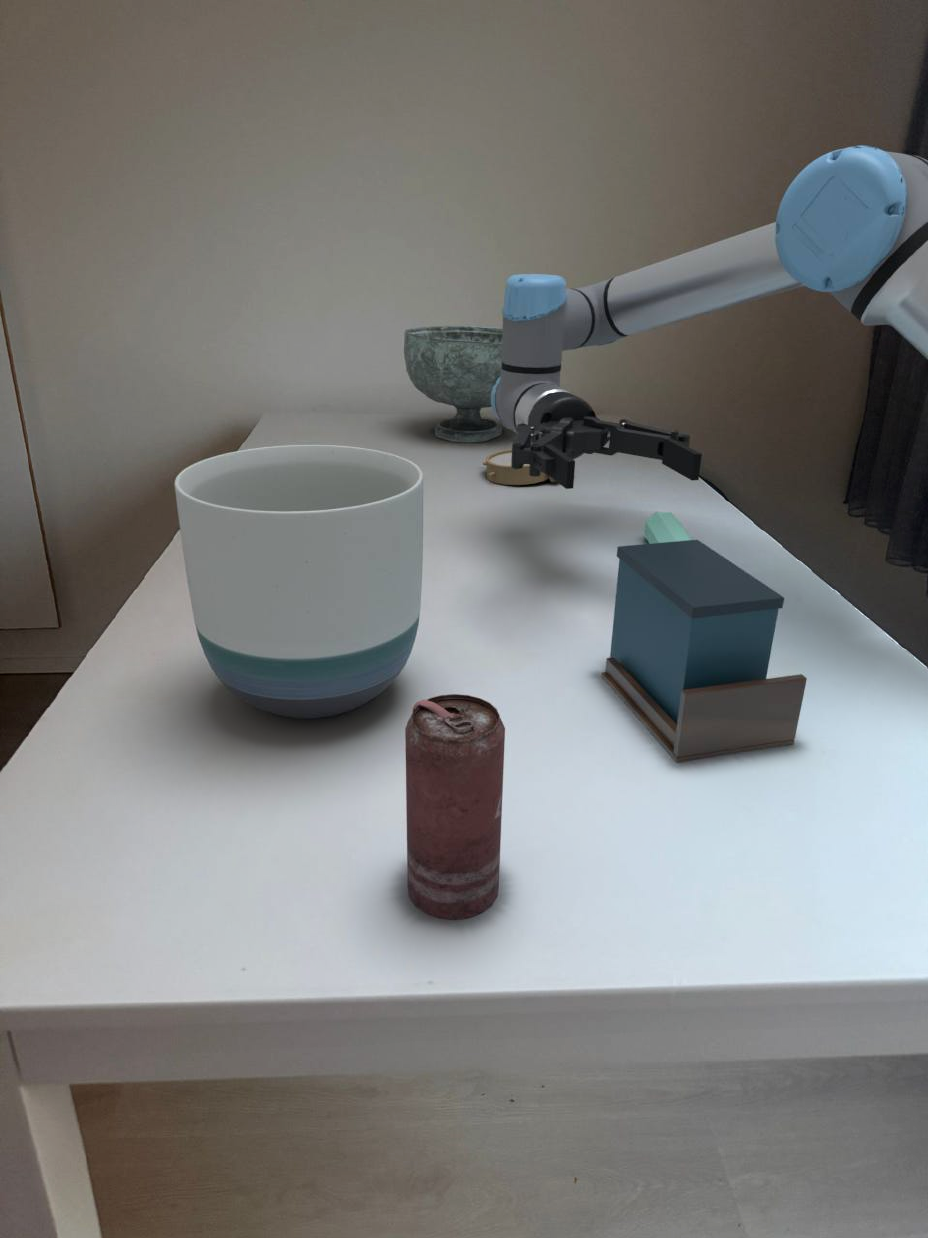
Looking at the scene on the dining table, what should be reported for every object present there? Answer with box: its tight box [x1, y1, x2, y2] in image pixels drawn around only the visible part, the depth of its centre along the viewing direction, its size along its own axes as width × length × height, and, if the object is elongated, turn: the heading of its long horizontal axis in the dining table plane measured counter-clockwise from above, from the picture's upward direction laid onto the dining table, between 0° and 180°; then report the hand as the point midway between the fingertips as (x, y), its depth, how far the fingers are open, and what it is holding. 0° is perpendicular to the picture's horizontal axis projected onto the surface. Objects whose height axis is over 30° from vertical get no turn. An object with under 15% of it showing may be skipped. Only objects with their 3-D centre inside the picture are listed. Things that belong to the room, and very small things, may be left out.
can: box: [404, 693, 506, 921], centre depth 58 cm, size 6×6×14 cm
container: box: [643, 511, 693, 544], centre depth 113 cm, size 6×6×25 cm
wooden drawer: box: [600, 657, 808, 764], centre depth 82 cm, size 15×11×7 cm
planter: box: [174, 444, 424, 719], centre depth 80 cm, size 20×20×21 cm
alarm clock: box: [482, 448, 575, 486], centre depth 152 cm, size 11×5×15 cm
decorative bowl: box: [403, 325, 503, 443], centre depth 176 cm, size 26×26×20 cm
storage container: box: [609, 539, 785, 724], centre depth 82 cm, size 14×8×12 cm, turn 16°
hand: (635, 471), depth 89 cm, fingers open, 13 cm apart
